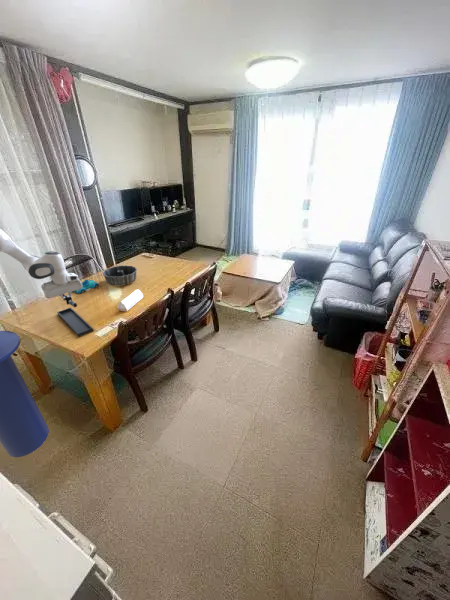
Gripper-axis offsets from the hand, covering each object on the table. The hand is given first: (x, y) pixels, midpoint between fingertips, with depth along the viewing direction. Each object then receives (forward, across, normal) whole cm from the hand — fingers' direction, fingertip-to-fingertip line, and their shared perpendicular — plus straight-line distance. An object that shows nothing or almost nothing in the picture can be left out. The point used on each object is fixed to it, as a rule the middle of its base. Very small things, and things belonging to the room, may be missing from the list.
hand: (67, 299), depth 156 cm
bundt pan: (+14, +49, +30) cm, 59 cm away
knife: (+2, 0, 0) cm, 2 cm away
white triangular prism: (+14, +35, -10) cm, 39 cm away
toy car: (+14, +24, +39) cm, 48 cm away
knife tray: (+14, -1, -6) cm, 15 cm away
